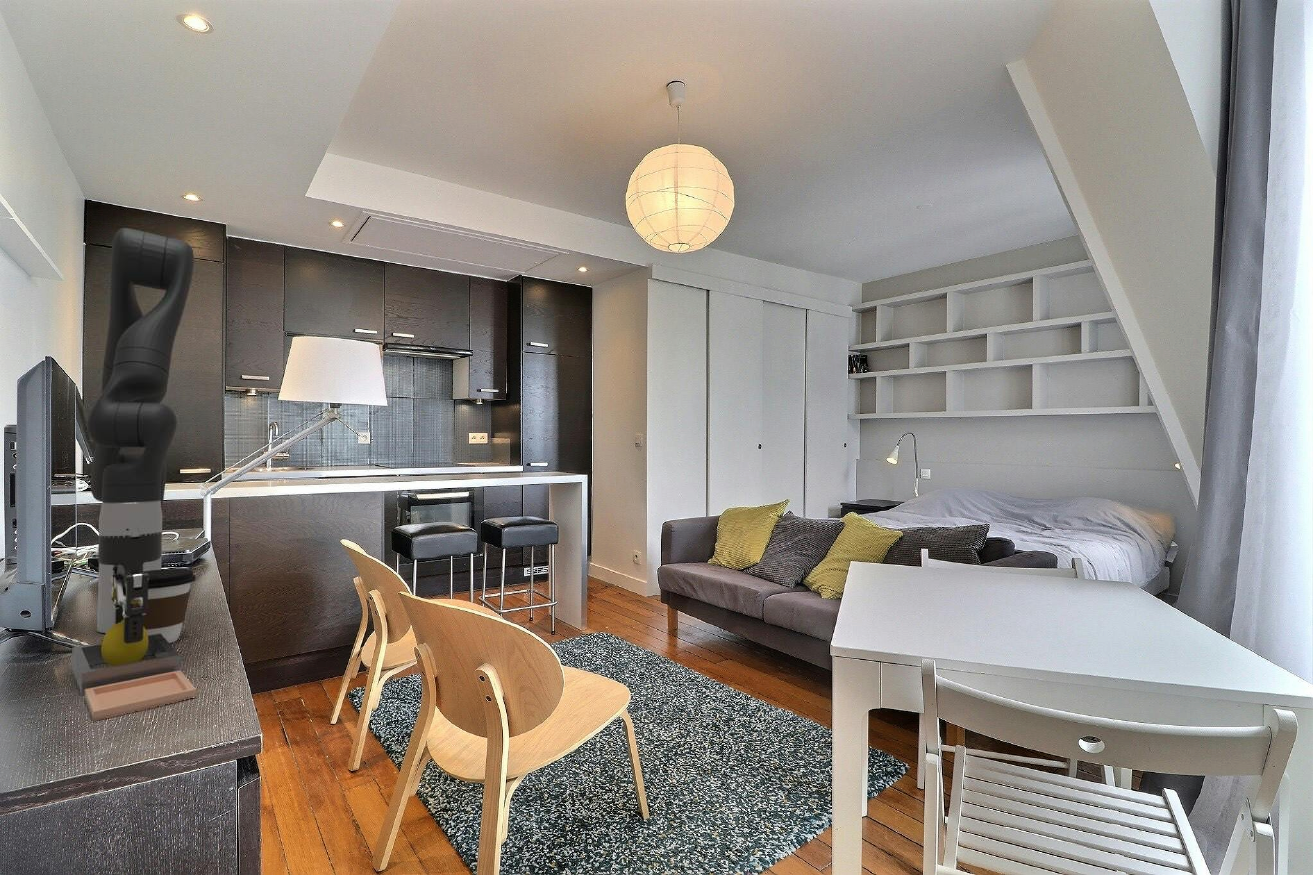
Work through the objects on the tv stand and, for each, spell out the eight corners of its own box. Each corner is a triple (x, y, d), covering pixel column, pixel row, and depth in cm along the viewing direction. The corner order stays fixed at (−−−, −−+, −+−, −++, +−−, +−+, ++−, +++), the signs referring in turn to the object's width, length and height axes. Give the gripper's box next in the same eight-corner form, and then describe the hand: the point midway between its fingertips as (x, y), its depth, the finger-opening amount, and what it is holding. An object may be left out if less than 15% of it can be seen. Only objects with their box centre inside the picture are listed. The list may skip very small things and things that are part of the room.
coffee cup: (184, 647, 108) (185, 577, 109) (104, 654, 104) (106, 581, 105) (202, 630, 119) (203, 566, 119) (130, 636, 114) (132, 570, 115)
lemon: (120, 678, 94) (122, 624, 94) (90, 675, 95) (92, 622, 95) (156, 666, 99) (158, 615, 99) (128, 663, 100) (129, 613, 100)
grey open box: (71, 667, 98) (71, 647, 98) (160, 651, 106) (160, 633, 106) (81, 695, 87) (82, 673, 87) (179, 675, 95) (180, 655, 95)
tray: (84, 698, 86) (84, 689, 86) (180, 678, 94) (180, 670, 94) (93, 721, 79) (93, 711, 79) (195, 697, 87) (196, 689, 87)
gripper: (93, 529, 99) (90, 633, 99) (105, 537, 90) (102, 651, 89) (153, 525, 105) (150, 623, 104) (170, 532, 95) (168, 640, 95)
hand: (128, 636), depth 97 cm, fingers open, 8 cm apart
